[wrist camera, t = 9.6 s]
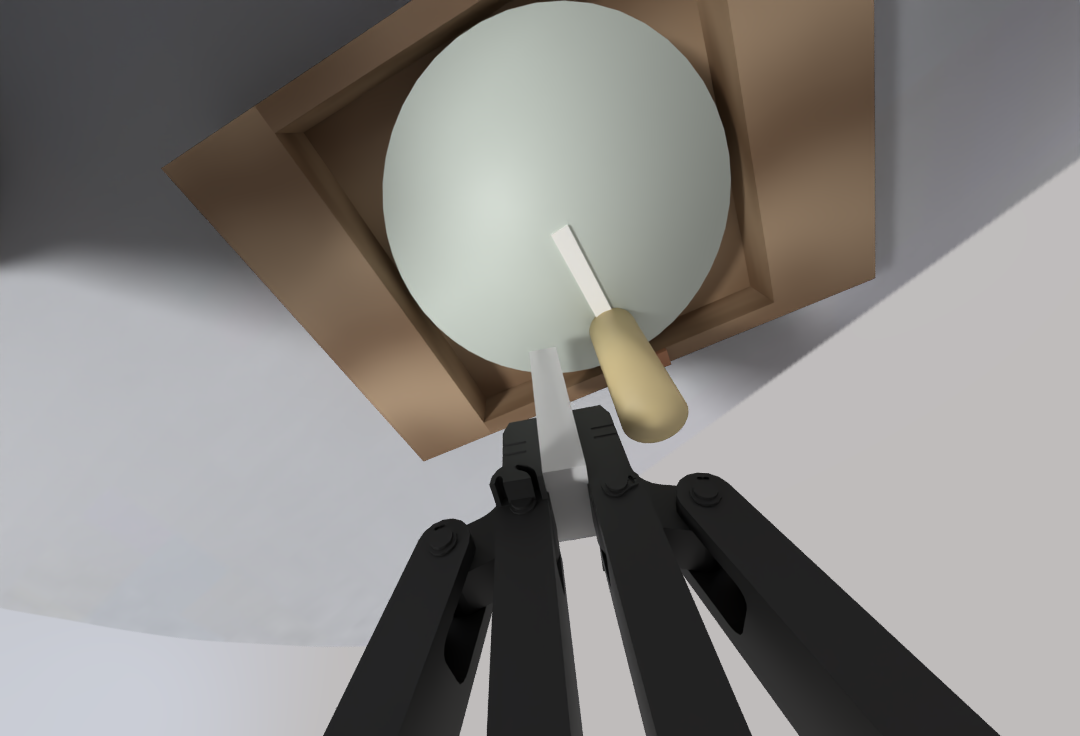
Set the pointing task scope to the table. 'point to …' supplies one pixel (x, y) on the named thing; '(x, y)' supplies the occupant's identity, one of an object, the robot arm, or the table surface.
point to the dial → (561, 196)
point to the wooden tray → (359, 226)
